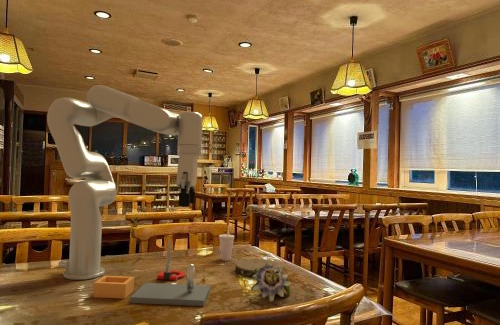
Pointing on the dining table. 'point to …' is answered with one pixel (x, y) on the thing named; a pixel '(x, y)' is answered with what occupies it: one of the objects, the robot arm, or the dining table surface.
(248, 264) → the wood slice
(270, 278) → the passion flower
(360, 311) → the dining table surface
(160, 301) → the board
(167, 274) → the tow hook
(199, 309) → the dining table surface
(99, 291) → the wooden masu cup
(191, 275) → the post
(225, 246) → the smoothie
